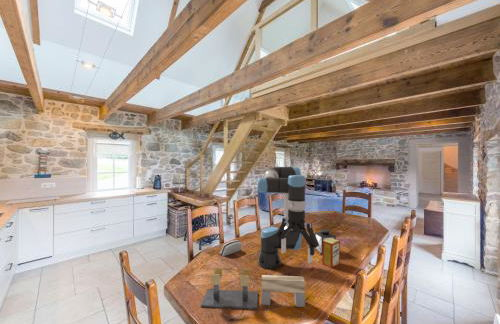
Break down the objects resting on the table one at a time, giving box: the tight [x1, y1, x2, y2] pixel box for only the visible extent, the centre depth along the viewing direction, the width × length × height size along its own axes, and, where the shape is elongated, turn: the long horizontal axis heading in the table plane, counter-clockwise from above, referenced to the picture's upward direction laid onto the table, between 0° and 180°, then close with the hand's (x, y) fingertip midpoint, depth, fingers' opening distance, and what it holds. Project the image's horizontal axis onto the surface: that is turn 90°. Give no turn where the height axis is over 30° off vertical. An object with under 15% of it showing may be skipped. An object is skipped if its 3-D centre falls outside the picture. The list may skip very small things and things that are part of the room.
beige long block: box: [261, 274, 306, 294], centre depth 99 cm, size 4×20×6 cm, turn 87°
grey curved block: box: [219, 239, 242, 257], centre depth 155 cm, size 17×5×10 cm, turn 131°
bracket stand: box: [200, 267, 259, 311], centre depth 101 cm, size 12×26×14 cm, turn 86°
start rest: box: [261, 290, 306, 308], centre depth 99 cm, size 5×20×6 cm, turn 86°
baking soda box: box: [322, 238, 341, 269], centre depth 138 cm, size 10×6×16 cm
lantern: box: [314, 214, 337, 256], centre depth 159 cm, size 11×11×28 cm
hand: (296, 257), depth 93 cm, fingers open, 13 cm apart
